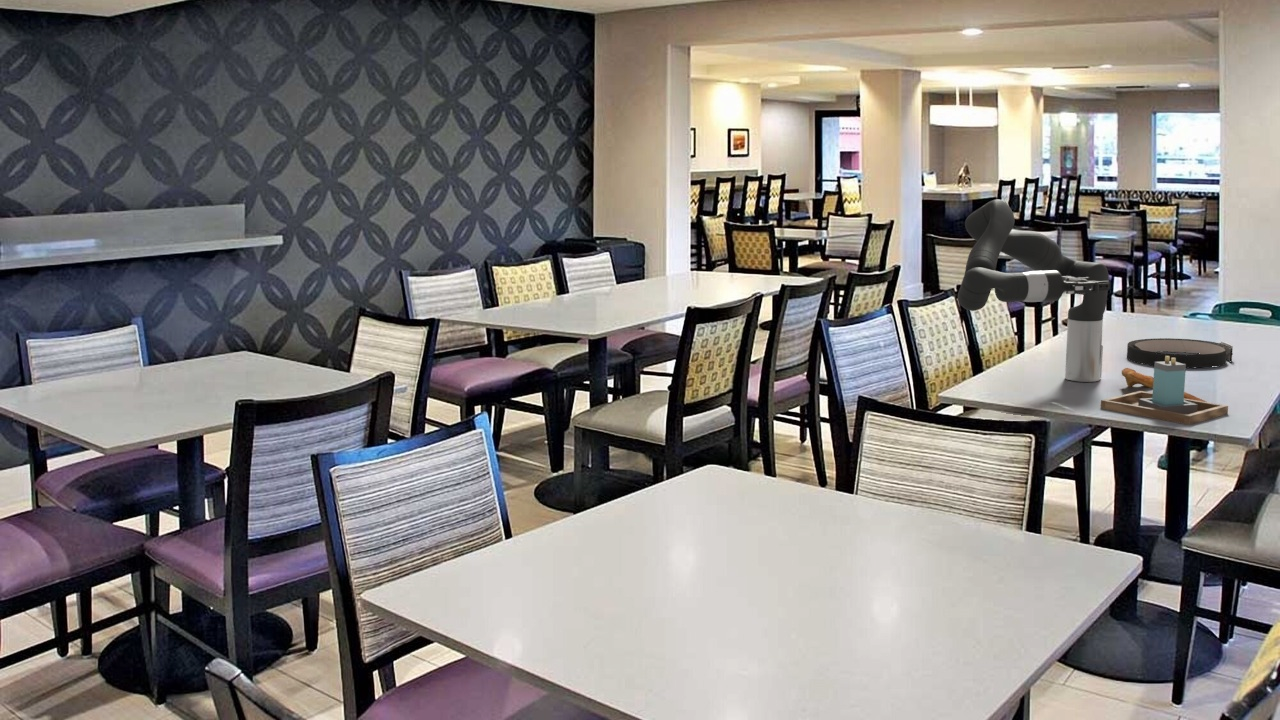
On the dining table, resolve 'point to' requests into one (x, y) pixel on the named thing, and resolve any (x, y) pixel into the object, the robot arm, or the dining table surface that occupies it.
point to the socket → (1170, 406)
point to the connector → (1169, 382)
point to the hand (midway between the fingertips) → (1099, 283)
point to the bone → (1146, 381)
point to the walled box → (1130, 405)
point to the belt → (1208, 351)
